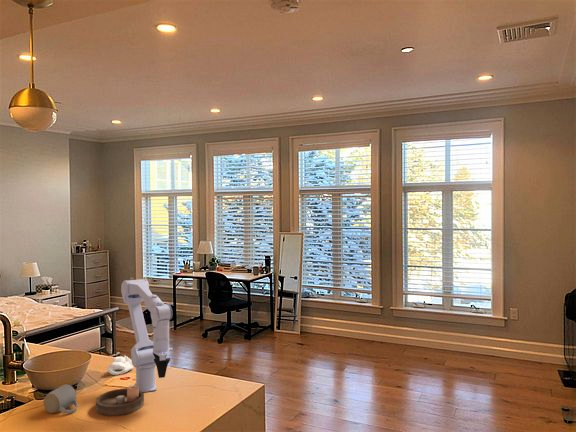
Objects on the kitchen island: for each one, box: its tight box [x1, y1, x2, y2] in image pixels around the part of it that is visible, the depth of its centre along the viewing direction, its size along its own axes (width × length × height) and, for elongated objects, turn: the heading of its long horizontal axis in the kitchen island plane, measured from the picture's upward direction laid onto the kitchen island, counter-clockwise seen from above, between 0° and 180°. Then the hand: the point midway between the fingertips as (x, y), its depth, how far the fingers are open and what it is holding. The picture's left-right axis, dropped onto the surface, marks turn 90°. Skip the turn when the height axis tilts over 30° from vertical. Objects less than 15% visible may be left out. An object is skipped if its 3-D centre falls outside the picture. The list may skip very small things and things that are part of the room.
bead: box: [126, 385, 139, 403], centre depth 161 cm, size 4×4×5 cm
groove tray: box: [95, 388, 145, 417], centre depth 160 cm, size 16×16×3 cm
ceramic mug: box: [43, 383, 79, 415], centre depth 156 cm, size 11×8×8 cm
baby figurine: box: [107, 354, 134, 376], centre depth 195 cm, size 9×12×8 cm
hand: (161, 373), depth 166 cm, fingers open, 7 cm apart
